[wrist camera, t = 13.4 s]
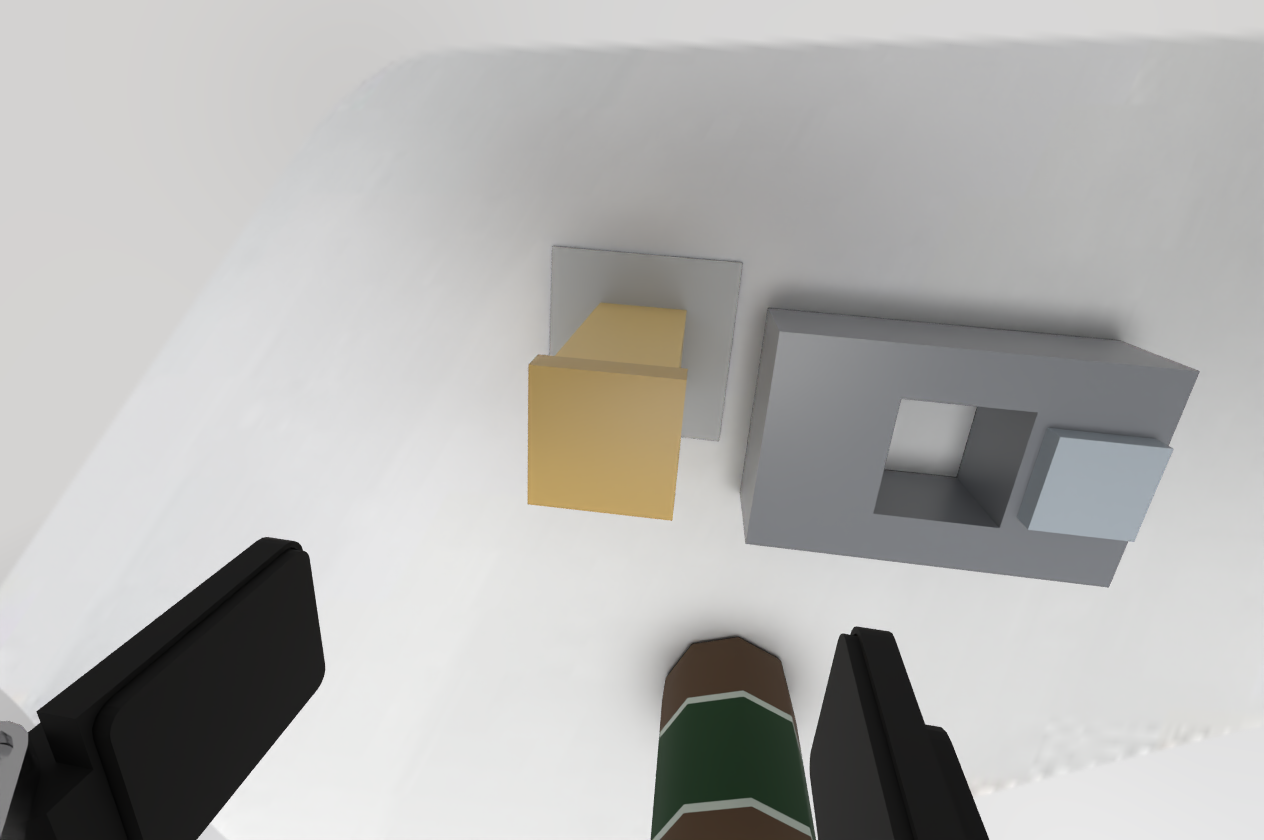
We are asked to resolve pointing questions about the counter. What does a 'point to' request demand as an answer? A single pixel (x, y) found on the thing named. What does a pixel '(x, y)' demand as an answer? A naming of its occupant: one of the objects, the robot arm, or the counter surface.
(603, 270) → the mat
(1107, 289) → the counter surface
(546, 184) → the counter surface
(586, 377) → the plug
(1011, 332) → the grey block with hole
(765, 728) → the beer bottle
